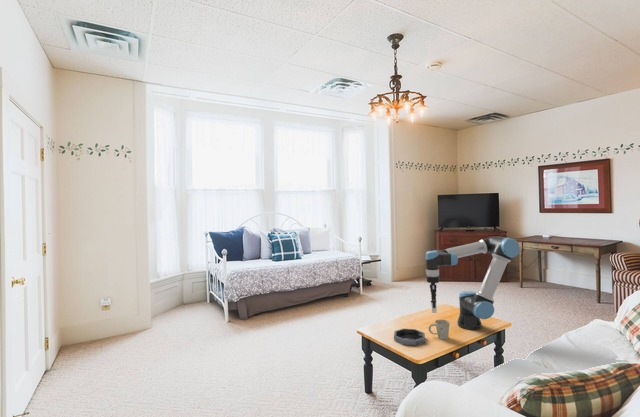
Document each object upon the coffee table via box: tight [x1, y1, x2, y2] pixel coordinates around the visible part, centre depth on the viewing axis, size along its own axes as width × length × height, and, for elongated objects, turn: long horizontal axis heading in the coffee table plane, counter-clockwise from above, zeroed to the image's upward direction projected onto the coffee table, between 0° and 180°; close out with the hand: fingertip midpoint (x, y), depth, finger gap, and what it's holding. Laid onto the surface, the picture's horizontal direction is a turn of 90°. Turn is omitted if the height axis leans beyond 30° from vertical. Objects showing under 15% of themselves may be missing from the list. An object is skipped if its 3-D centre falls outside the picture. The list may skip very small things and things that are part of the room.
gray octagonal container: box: [393, 328, 426, 347], centre depth 208 cm, size 18×18×3 cm
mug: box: [428, 319, 450, 340], centre depth 209 cm, size 8×13×10 cm, turn 78°
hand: (434, 309), depth 211 cm, fingers open, 13 cm apart
